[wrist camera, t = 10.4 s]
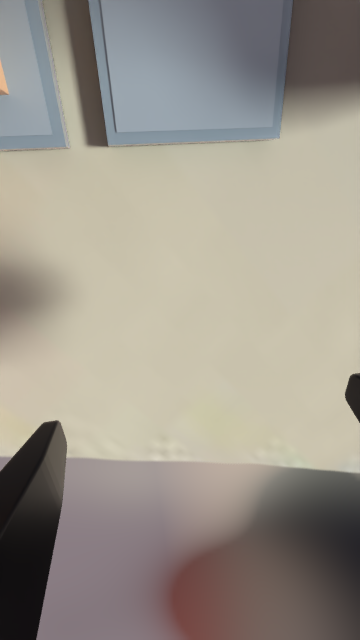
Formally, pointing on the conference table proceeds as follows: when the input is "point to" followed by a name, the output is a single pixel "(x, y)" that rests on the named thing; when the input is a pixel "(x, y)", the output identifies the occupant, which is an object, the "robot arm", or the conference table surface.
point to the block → (3, 82)
